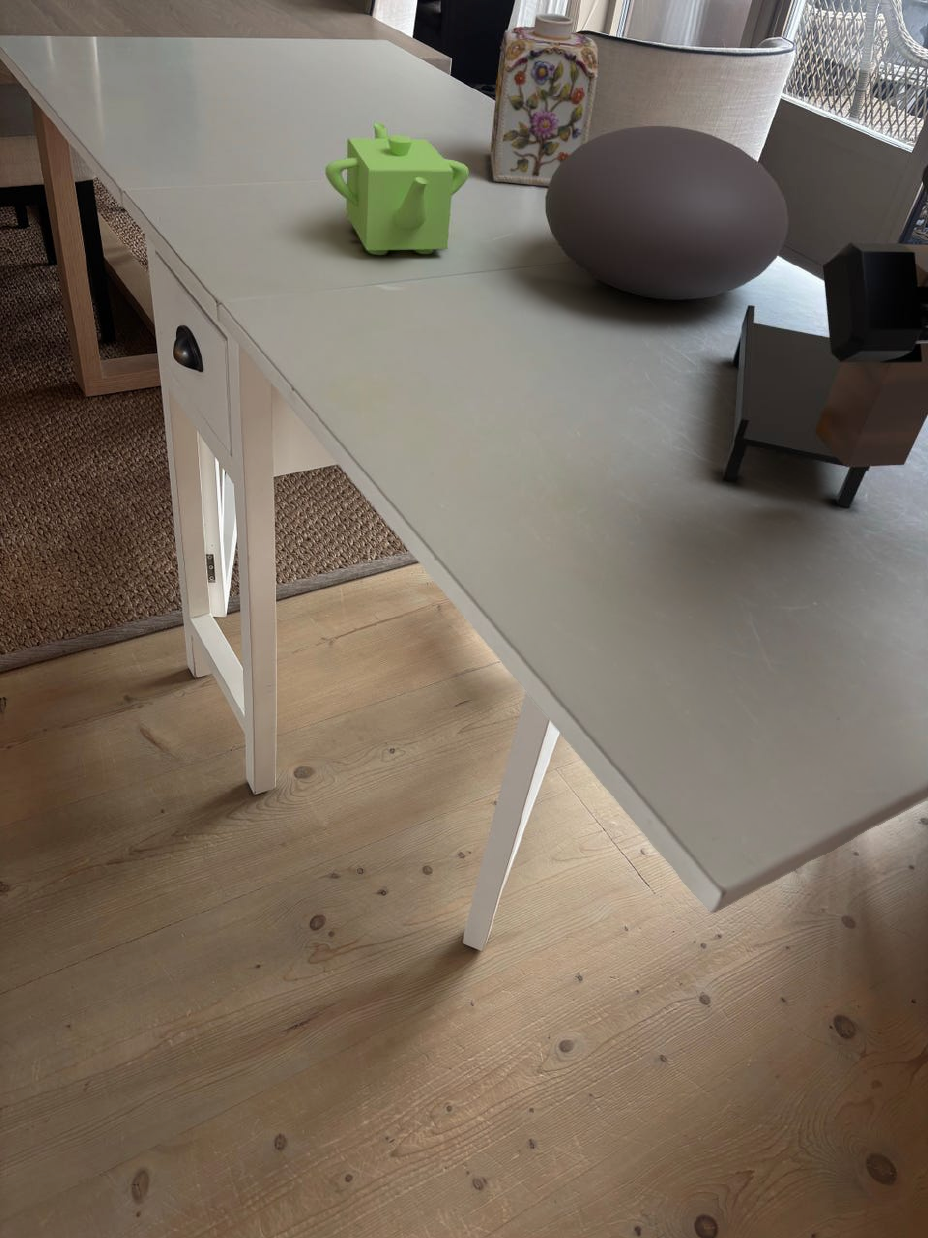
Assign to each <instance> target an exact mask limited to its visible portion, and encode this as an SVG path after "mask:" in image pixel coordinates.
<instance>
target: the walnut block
mask: <svg viewBox="0 0 928 1238" xmlns="http://www.w3.org/2000/svg"><path fill="white" fill-rule="evenodd" d="M904 245H905V246H906V247H908V248H909V249H911V250H912V251H913V252H915V261H916V272H917V282H918V286H928V244H904ZM921 353H922V362H921V363H881V362H842V363H841V366H840V368H839V371H838V373H837V376H836V378H835V381H834V383H833V386H832V388H831V391H830V394H829V396H828V399H827V401H826V404H825V406H824V409H823V411H822V414H821V416H820V419H819V422H818V424H817V427H816V429H815V434H816V435H817V436H818V437H819V438H820V439H821V440H822V441H823V442H824V444H825V445H826V446H827V447H828V448H829V449H830V450H831V451H832V452H833V454H834V455H835V456H836V457H837V458H838V459H839V460H840V461H841V462H842V464H843V465H844V466H843V467H845V468H850V467H865V466H870V467H887V466H888V467H889V466H905V464H906V462H907V459H908V457H909V455H910V453H911V451H912V449H913V447H914V445H915V443H916V441H917V438H918V436H919V435H920V433H921V430H922V428H923V426H924V424H925V422H926V420H927V418H928V343H927V344H921Z"/></svg>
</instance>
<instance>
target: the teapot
mask: <svg viewBox="0 0 928 1238" xmlns="http://www.w3.org/2000/svg"><path fill="white" fill-rule="evenodd" d="M373 129H374V137H375V138H367V137H366V138H365V137H364V138H363V137H362V138H361V137H348V138H347V143H346V144H347V148H346V151H347V152H346V154H347V155H346V158H341V159H336V160H334V161H331V162H329V163H328V164H327V165H326V167H325V171H324V172H325V177H326V178H327V179H326V180H328V182H329V184H330V185H331V187H332V188H333V189H334V190H335V191H336V192H337V193H339V194H340V195H341V196H342V197H343V198H344V199H346V216H347V218H348V220H349V222H350V224H351V225H352V227H353V229H354V231H355V232H356V235H357V236H358V237H359V239H360V241H361V244H362V245H363V247H364V249H365V250H366V251H367V252H368V253H370V254H372V255H376V256H383V255H386V254H387V253H388V251H402V250H403V251H404V250H405V251H406V250H413V251H414V252H415V253H417V254H421V255H430V254H433V252H434V250H447V249H448V241H449V229H450V220H451V219H450V218H451V208H452V207H451V206H452V197H453V196H454V195H455V194H456V193H457V192H458V191H459V190H461V188H462V187H463V186H464V185H465V183H466V181H467V179H468V178H469V174H470V173H469V168H468V167H467V165H465V164H464V163H463V162H460V161H456V160H453V159H447V158H444V157H443V156H442V155H441V154H440V153H439V152H438V151H437V149H436V148H435V147H434V146H433V145H432V144H431V143H430V141H429V140H428V139H426V138H425V139H422V138H419V139H416V138H411V137H409V136H407V135H404V134H403V135H402V134H392V135H388V131H387V127H386V126H385V125H384V124H383V123H381V122H375V123H374V124H373ZM345 170H346V181H345V180H344V178H343V175H342V173H343V172H344V171H345Z"/></svg>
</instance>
